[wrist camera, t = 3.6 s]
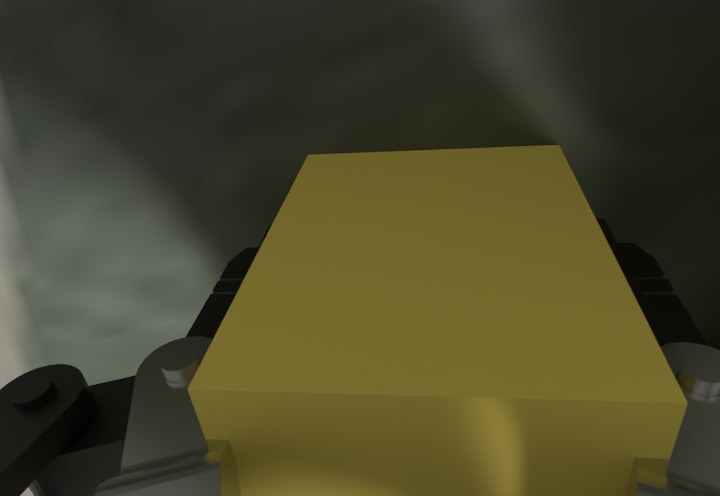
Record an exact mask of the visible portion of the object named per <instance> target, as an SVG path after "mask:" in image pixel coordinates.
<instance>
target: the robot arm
mask: <svg viewBox="0 0 720 496" xmlns="http://www.w3.org/2000/svg"><path fill="white" fill-rule="evenodd" d="M596 220H597V222H598V224H599V226H600V228H601V230H602V232H603V234H604V236H605V238H606V240H607V242H608V244H609V246H610V248H611V250H612V252H613V254H614V256H615V258H616V260H617V262H618V264H619V266H620V268H621V270H622V272H623V274H624V276H625V278H626V280H627V282H628V284H629V286H630V288H631V290H632V292H633V294H634V296H635V298H636V300H637V302H638V304H639V306H640V308H641V310H642V312H643V314H644V316H645V318H646V320H647V322H648V324H649V326H650V328H651V330H652V332H653V334H654V336H655V338H656V340H657V342H658V344H659V346H660V348H661V350H662V352H663V354H664V356H665V358H666V360H667V362H668V364H669V366H670V368H671V370H672V372H673V374H674V376H675V378H676V380H677V382H678V384H679V387H680V389H681V391H682V393H683V395H684V397H685V399H686V401H687V403H688V405H687V408H686V411H685V414H684V417H683V420H682V423H681V426H680V429H679V432H678V435H677V438H676V442H675V445H674V448H673V451H672V454H671V457H670V459H658V458H635V459H634V462H633V466H632V470H631V473H630V477H629V481H628V484H627V492H626V496H720V350H718V349H715V348H712V347H709V346H708V345H707V344H706V342H705V340H704V339H703V337H702V335H701V334H700V332H699V330H698V329H697V327H696V325H695V324H694V322H693V321H692V319H691V317H690V316H689V314H688V312H687V311H686V309H685V307H684V306H683V304H682V302H681V301H680V299H679V298H678V296H677V295H675V294H674V289H673V288H672V286H671V284H670V283H669V281H668V280H666V279H665V275H664V273H663V271H662V270H661V268H660V266H659V265H658V263H657V261H656V260H655V258H653V257H652V256H651V255H649V254H648V253H646V252H645V251H644V250H642V249H641V248H639V247H638V246H637V245H635V244H634V243H617V242H616V240H615V238H614V236H613V234H612V232H611V230H610V228H609V226H608V224H607V223H606V221H605V219H603V218H596ZM271 226H272V224H271V225H270V226H269V228H268V230H267V232H266V234H265V236H264V237H263V239H262V241H261V243H260V245H259V247H258V248H246V249H245V250H243V251H242V252H241V253H240V254H238V255H237V256H236V257H235V258H233V259H232V260H231V261H230V262H229V263H228V265H227V267H226V268H225V270H224V272H223V274H222V275H221V277H220V281H218V282H217V284H216V286H215V287H214V289H213V294H210V296H209V298H208V299H207V301H206V303H205V305H204V306H203V308H202V310H201V311H200V313H199V315H198V317H197V318H196V320H195V322H194V324H193V325H192V327H191V329H190V330H189V332H188V334H187V336H186V337H185V338H181V339H177V340H174V341H171V342H169V343H167V344H165V345H163V346H161V347H159V348H158V349H156V350H154V351H153V352H152V353H151V354H149V355H148V356H147V357H146V358H145V359H144V361H143V362H142V363H141V365H140V366H139V368H138V370H137V373H136V375H135V376H131V377H127V378H123V379H118V380H114V381H109V382H105V383H100V384H96V385H91V386H88V384H87V382H86V380H85V378H84V376H83V374H82V373H81V371H80V370H79V369H77V368H76V367H73V366H71V365H65V364H56V365H48V366H44V367H40V368H37V369H34V370H32V371H29V372H27V373H25V374H23V375H21V376H19V377H17V378H16V379H14V380H13V381H11V382H9V383H8V384H7V385H6V386H4V387H3V388H2V389H1V390H0V496H20V495H21V494H22V493H23V492H24V491H25V490H26V489H27V488H28V487H29V489H30V490H31V492H32V493H33V495H34V496H241V492H240V486H239V479H238V471H237V463H236V460H235V457H234V454H233V451H232V448H231V445H230V442H229V440H212V439H205V437H204V434H203V431H202V428H201V425H200V423H199V420H198V417H197V414H196V412H195V409H194V406H193V403H192V401H191V398H190V395H189V392H188V390H187V389H188V387H189V385H190V383H191V381H192V379H193V377H194V376H195V374H196V372H197V370H198V368H199V366H200V364H201V362H202V360H203V358H204V356H205V354H206V352H207V350H208V348H209V346H210V344H211V342H212V341H213V339H214V337H215V335H216V333H217V331H218V329H219V327H220V325H221V323H222V321H223V319H224V317H225V315H226V313H227V311H228V309H229V307H230V306H231V304H232V302H233V300H234V298H235V296H236V294H237V292H238V290H239V288H240V286H241V284H242V282H243V280H244V278H245V276H246V274H247V273H248V271H249V269H250V267H251V265H252V263H253V261H254V259H255V257H256V255H257V253H258V251H259V249H260V247H261V245H262V243H263V241H264V239H265V238H266V236H267V234H268V232H269V230H270V228H271Z"/></svg>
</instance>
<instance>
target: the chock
mask: <svg viewBox="0 0 720 496" xmlns="http://www.w3.org/2000/svg"><path fill="white" fill-rule="evenodd" d="M187 390H188V392H189V395H190V398H191V401H192V403H193V406H194V409H195V412H196V414H197V417H198V420H199V423H200V425H201V428H202V431H203V434H204V437H205V439H212V440H229V442H230V445H231V448H232V451H233V454H234V457H235V460H236V463H237V471H238V479H239V486H240V492H241V496H626V492H627V484H628V481H629V477H630V473H631V470H632V466H633V462H634V459H635V458H658V459H670V457H671V454H672V451H673V448H674V445H675V442H676V438H677V435H678V432H679V429H680V426H681V423H682V420H683V417H684V414H685V411H686V408H687V405H688V403H687V401H686V399H685V397H684V395H683V393H682V391H681V389H680V387H679V384H678V382H677V380H676V378H675V376H674V374H673V372H672V370H671V368H670V366H669V364H668V362H667V360H666V358H665V356H664V354H663V352H662V350H661V348H660V346H659V344H658V342H657V340H656V338H655V336H654V334H653V332H652V330H651V328H650V326H649V324H648V322H647V320H646V318H645V316H644V314H643V312H642V310H641V308H640V306H639V304H638V302H637V300H636V298H635V296H634V294H633V292H632V290H631V288H630V286H629V284H628V282H627V280H626V278H625V276H624V274H623V272H622V270H621V268H620V266H619V264H618V262H617V260H616V258H615V256H614V254H613V252H612V250H611V248H610V246H609V244H608V242H607V240H606V238H605V236H604V234H603V232H602V230H601V228H600V226H599V224H598V222H597V220H596V218H595V216H594V214H593V212H592V210H591V208H590V206H589V204H588V202H587V200H586V198H585V196H584V194H583V192H582V190H581V188H580V186H579V184H578V182H577V180H576V178H575V176H574V174H573V172H572V170H571V168H570V166H569V164H568V162H567V160H566V158H565V156H564V154H563V152H562V150H561V148H560V146H559V145H541V146H516V147H490V148H465V149H439V150H414V151H389V152H363V153H338V154H312V155H308V156H307V158H306V160H305V162H304V164H303V166H302V168H301V169H300V171H299V173H298V175H297V177H296V179H295V181H294V183H293V185H292V187H291V189H290V191H289V193H288V195H287V197H286V199H285V201H284V203H283V204H282V206H281V208H280V210H279V212H278V214H277V216H276V218H275V220H274V222H273V224H272V226H271V228H270V230H269V232H268V234H267V236H266V238H265V239H264V241H263V243H262V245H261V247H260V249H259V251H258V253H257V255H256V257H255V259H254V261H253V263H252V265H251V267H250V269H249V271H248V273H247V274H246V276H245V278H244V280H243V282H242V284H241V286H240V288H239V290H238V292H237V294H236V296H235V298H234V300H233V302H232V304H231V306H230V307H229V309H228V311H227V313H226V315H225V317H224V319H223V321H222V323H221V325H220V327H219V329H218V331H217V333H216V335H215V337H214V339H213V341H212V342H211V344H210V346H209V348H208V350H207V352H206V354H205V356H204V358H203V360H202V362H201V364H200V366H199V368H198V370H197V372H196V374H195V376H194V377H193V379H192V381H191V383H190V385H189V387H188V389H187Z"/></svg>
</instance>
